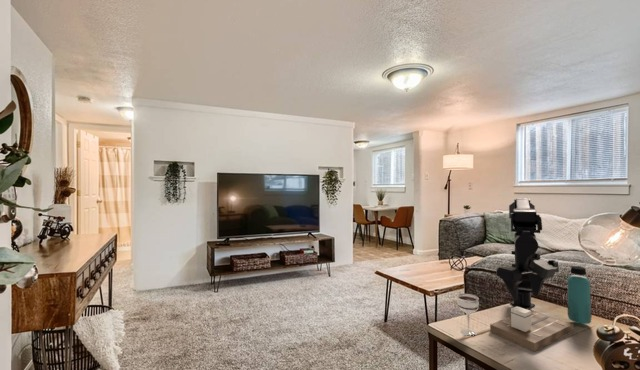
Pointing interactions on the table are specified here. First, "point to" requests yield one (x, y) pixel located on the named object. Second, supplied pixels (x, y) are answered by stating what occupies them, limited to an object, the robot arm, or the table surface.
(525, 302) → the robot arm
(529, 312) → the fader knob
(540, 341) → the brown wooden board
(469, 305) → the wineglass
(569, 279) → the beverage bottle
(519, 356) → the table surface
